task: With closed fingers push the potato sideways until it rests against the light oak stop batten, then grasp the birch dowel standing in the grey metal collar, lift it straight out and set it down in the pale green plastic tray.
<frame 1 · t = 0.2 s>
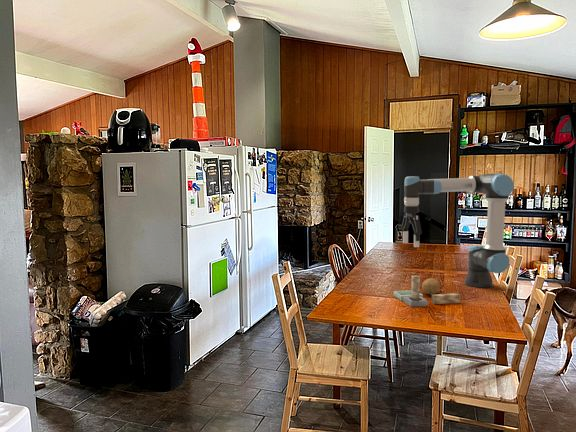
hand: (410, 245, 243), 27 cm above the table, fingers open, 13 cm apart
tray: (407, 297, 240), on the table
dowel: (415, 290, 229), in the collar
potato: (430, 294, 247), on the table
stop batten: (445, 302, 231), on the table
collar: (415, 303, 229), on the table
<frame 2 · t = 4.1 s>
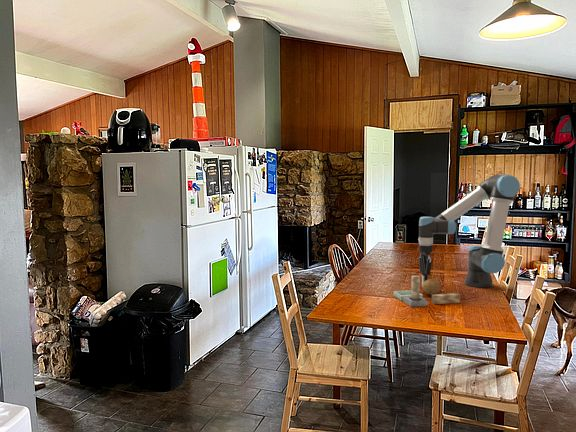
hand: (424, 286, 253), 3 cm above the table, fingers closed
potato: (431, 294, 246), on the table, touching gripper
everything else where it was.
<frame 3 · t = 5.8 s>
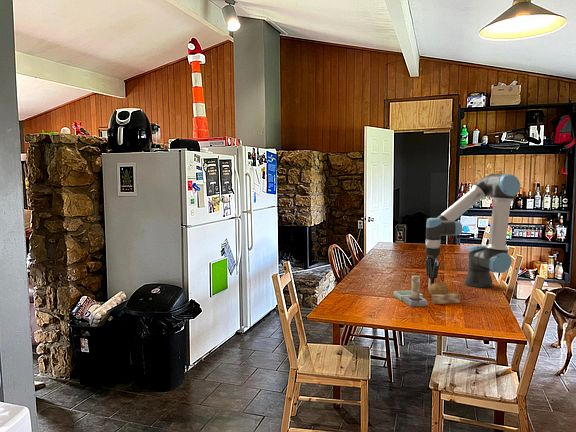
hand: (431, 289, 246), 3 cm above the table, fingers closed
potato: (438, 298, 238), on the table, touching gripper, stop batten
everything else where it was.
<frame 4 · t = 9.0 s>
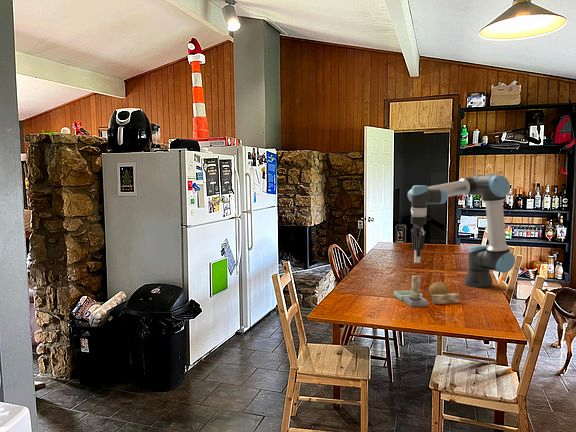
hand: (417, 262, 230), 20 cm above the table, fingers closed
potato: (438, 298, 238), on the table
everything else where it was.
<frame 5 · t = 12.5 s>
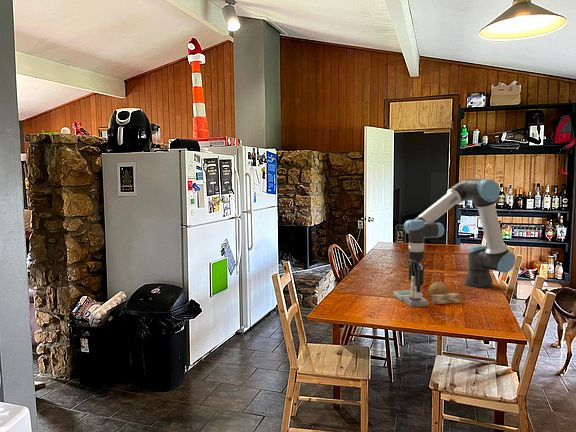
hand: (415, 296, 229), 4 cm above the table, fingers closed on dowel, 4 cm apart
dowel: (415, 290, 229), in the collar, touching gripper
everything else where it was.
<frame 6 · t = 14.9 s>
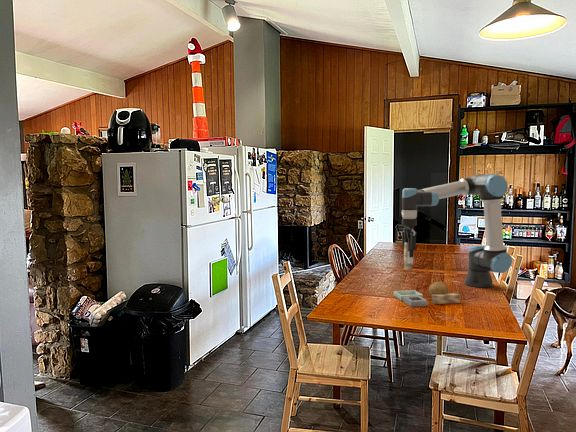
hand: (408, 262, 238), 19 cm above the table, fingers closed on dowel, 4 cm apart
dowel: (408, 256, 238), point 22 cm above the table, touching gripper
everything else where it was.
when the fingers open (6 cm above the table, at t = 17.4 s): dowel drops 1 cm, resting on tray.
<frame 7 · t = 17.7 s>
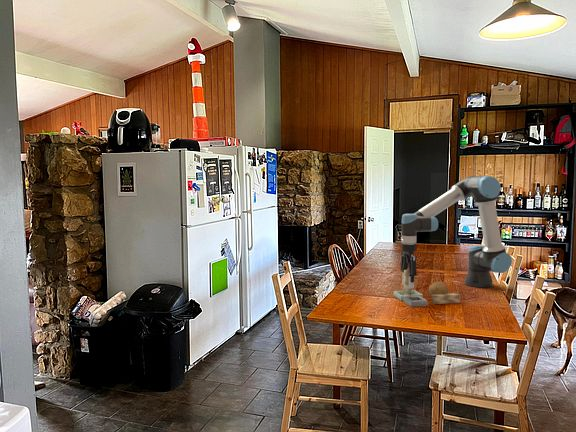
hand: (408, 286, 240), 6 cm above the table, fingers open, 7 cm apart
dowel: (407, 283, 239), in the tray, point 8 cm above the table
everything else where it was.
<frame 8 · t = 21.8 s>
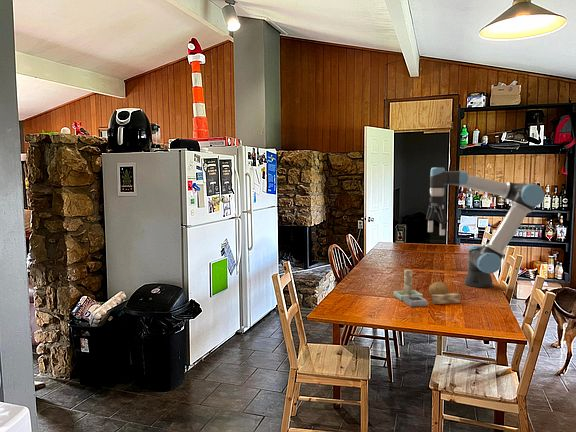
hand: (436, 233, 254), 32 cm above the table, fingers open, 13 cm apart
nothing on the table moved.
at the end: potato inside the target area (1.3 cm from its centre), on the table; dowel inside the target area on the tray (0.1 cm from its centre), point 7.6 cm above the tray's base; the gripper is holding nothing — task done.
